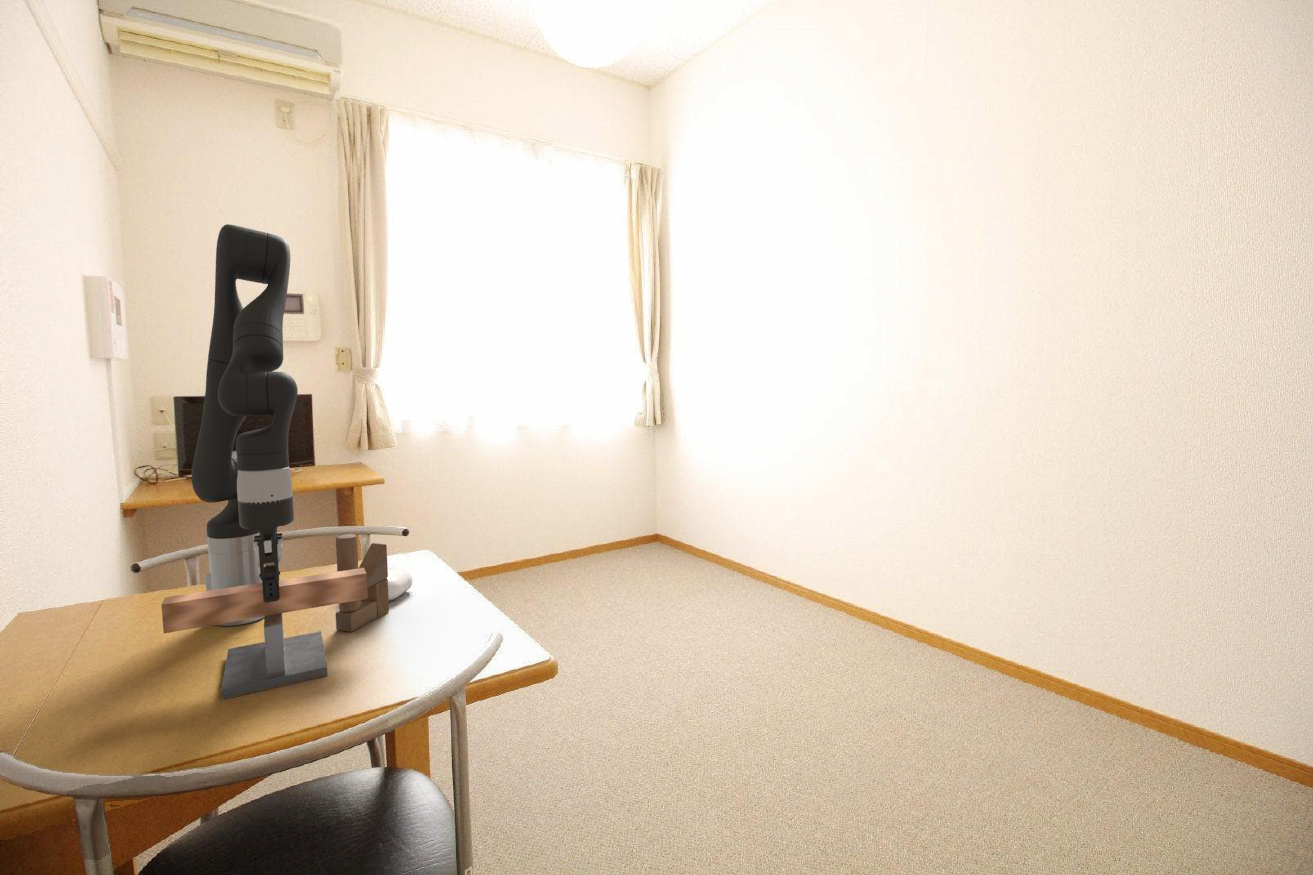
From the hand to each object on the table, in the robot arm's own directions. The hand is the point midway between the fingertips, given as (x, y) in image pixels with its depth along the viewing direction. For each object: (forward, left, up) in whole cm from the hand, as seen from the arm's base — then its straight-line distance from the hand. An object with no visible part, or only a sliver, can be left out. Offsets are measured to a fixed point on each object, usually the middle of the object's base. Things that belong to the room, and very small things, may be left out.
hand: (272, 592), depth 101 cm
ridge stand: (0, 0, -13) cm, 13 cm away
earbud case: (0, +33, -13) cm, 35 cm away
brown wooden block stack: (+4, +19, -13) cm, 24 cm away
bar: (0, 0, -3) cm, 3 cm away
